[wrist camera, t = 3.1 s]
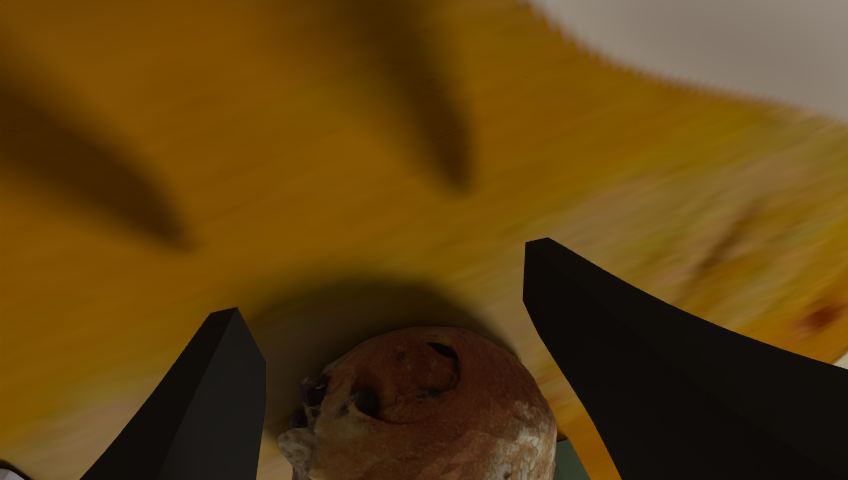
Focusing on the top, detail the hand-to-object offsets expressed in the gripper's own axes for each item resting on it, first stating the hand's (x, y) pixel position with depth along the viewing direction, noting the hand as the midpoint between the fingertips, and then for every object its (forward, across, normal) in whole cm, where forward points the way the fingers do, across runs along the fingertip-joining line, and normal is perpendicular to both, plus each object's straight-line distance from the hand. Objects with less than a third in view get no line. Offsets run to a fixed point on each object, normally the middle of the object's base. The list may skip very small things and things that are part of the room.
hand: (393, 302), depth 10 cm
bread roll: (+3, 0, +8) cm, 9 cm away
